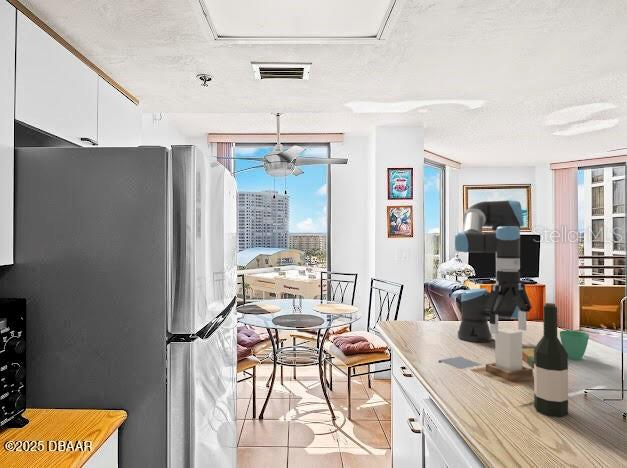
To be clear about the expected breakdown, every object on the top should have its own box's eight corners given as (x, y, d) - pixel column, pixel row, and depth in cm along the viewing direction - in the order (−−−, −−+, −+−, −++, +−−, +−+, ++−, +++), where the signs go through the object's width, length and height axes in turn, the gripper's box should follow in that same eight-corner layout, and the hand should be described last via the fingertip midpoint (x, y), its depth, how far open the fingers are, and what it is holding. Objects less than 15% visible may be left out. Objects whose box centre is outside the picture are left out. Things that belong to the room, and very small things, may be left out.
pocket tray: (469, 371, 148) (469, 362, 148) (505, 365, 155) (505, 356, 155) (512, 388, 132) (512, 378, 132) (550, 380, 139) (550, 370, 139)
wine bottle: (527, 405, 119) (527, 301, 119) (555, 404, 120) (554, 301, 120) (546, 417, 111) (545, 306, 111) (575, 416, 111) (574, 306, 112)
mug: (591, 363, 156) (591, 337, 157) (561, 360, 161) (561, 334, 161) (584, 353, 170) (584, 329, 170) (556, 350, 174) (556, 327, 174)
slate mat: (438, 362, 159) (438, 360, 159) (460, 358, 164) (460, 356, 164) (459, 370, 149) (459, 368, 149) (481, 366, 154) (481, 364, 154)
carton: (539, 359, 164) (538, 348, 164) (557, 372, 148) (557, 360, 148) (516, 358, 165) (516, 347, 165) (533, 371, 149) (533, 360, 149)
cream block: (495, 372, 145) (495, 329, 145) (507, 370, 147) (507, 328, 147) (509, 377, 139) (509, 333, 139) (522, 375, 142) (522, 331, 142)
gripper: (490, 272, 135) (490, 337, 135) (542, 270, 145) (542, 330, 145) (473, 270, 142) (473, 332, 141) (523, 268, 152) (524, 326, 152)
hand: (508, 331), depth 143 cm, fingers open, 13 cm apart
